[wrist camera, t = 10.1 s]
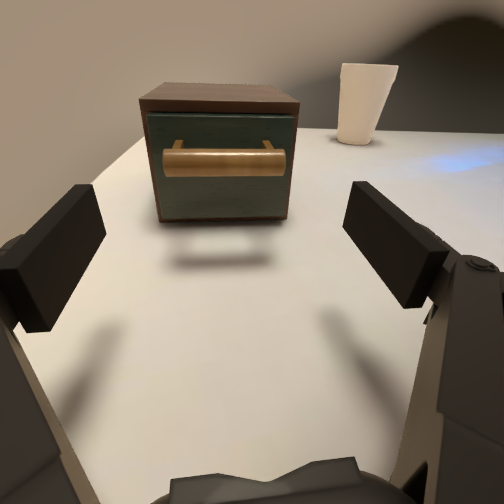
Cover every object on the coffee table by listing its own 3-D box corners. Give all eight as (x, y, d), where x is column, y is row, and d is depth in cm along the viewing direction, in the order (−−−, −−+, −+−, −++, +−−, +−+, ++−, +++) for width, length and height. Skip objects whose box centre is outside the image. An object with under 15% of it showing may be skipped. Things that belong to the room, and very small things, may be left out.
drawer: (299, 250, 24) (316, 134, 19) (151, 255, 22) (126, 132, 17) (264, 170, 40) (268, 96, 35) (176, 170, 38) (168, 93, 33)
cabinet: (287, 219, 30) (300, 102, 24) (158, 222, 29) (138, 98, 22) (265, 171, 42) (270, 85, 36) (174, 171, 41) (164, 82, 35)
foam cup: (339, 147, 55) (356, 64, 47) (322, 135, 62) (334, 62, 55) (386, 146, 56) (409, 66, 49) (364, 135, 63) (381, 64, 56)
